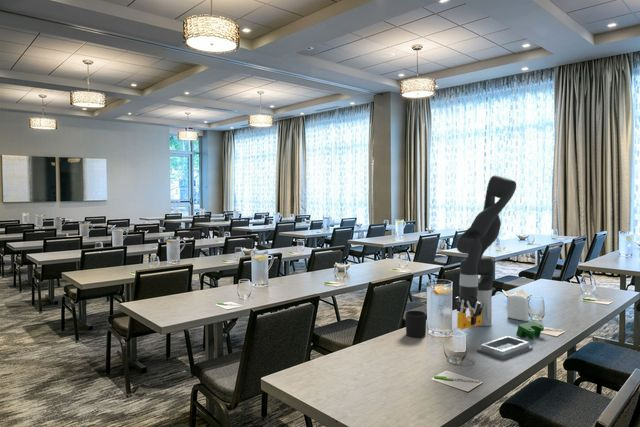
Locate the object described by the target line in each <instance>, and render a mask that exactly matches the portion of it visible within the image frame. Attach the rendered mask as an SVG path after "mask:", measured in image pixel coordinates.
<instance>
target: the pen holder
mask: <svg viewBox="0 0 640 427" xmlns="http://www.w3.org/2000/svg"><path fill="white" fill-rule="evenodd" d="M404 316H405V334H406V336H407V337H410V338H417V339H419V338H424V337H425V336H426V334H427V333H426V332H427V314H426V313H425V312H424V311H422V310H421V311H420V310H409V311H406V312H405V314H404Z"/></svg>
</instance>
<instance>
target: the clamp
mask: <svg viewBox="0 0 640 427" xmlns="http://www.w3.org/2000/svg"><path fill="white" fill-rule="evenodd" d="M544 329H545V326H544V325H542V324H540V323H538V322H537V321H534V320H531V321H527V322H525V323H522V324H518V326H517V329H516V330H517V331H516V332H515V333H516V336H517V337H518V338H521V339H523V338H528V339H530V340H534V337H537V338H540V337H541V333H542V331H544Z"/></svg>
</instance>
